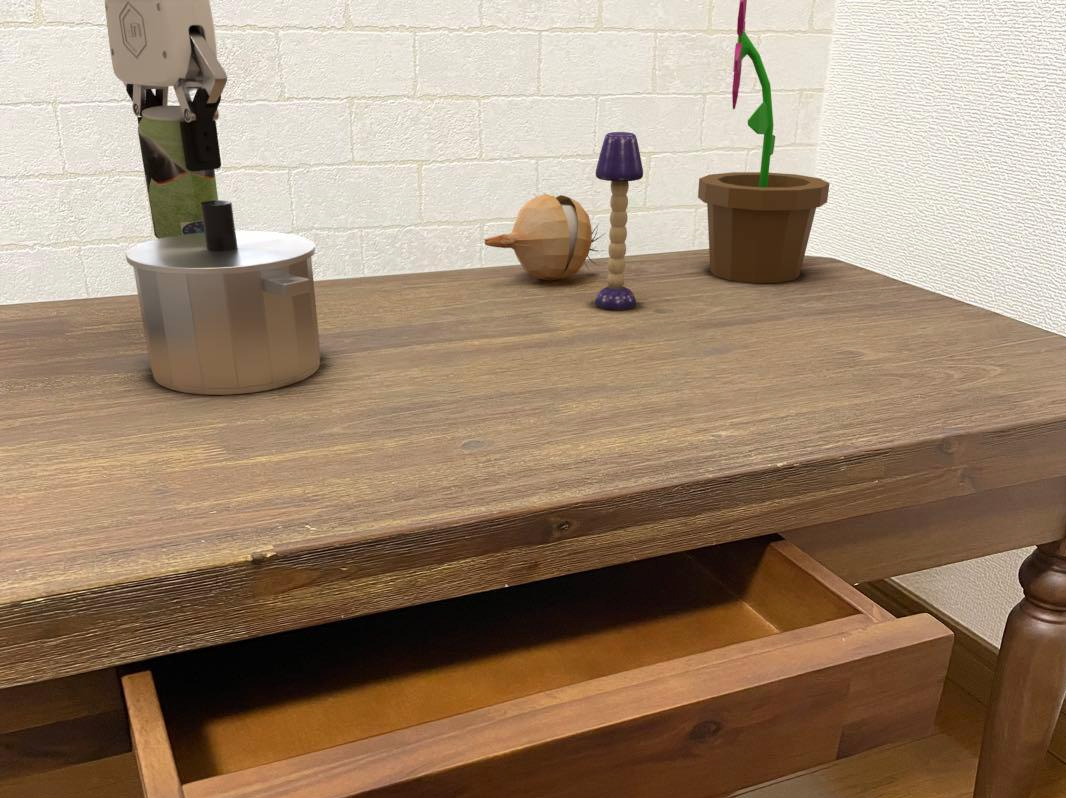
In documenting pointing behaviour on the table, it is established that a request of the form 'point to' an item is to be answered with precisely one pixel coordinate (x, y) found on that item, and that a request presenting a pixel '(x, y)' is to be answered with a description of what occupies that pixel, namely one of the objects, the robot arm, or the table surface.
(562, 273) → the yellow onion
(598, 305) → the toy lamp
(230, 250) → the pot lid
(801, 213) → the flowerpot
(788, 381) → the table surface
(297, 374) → the pot
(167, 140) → the beverage can
